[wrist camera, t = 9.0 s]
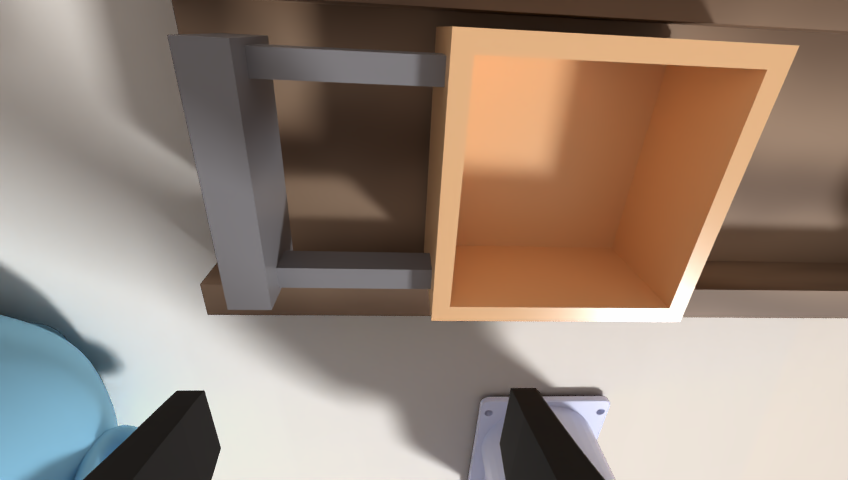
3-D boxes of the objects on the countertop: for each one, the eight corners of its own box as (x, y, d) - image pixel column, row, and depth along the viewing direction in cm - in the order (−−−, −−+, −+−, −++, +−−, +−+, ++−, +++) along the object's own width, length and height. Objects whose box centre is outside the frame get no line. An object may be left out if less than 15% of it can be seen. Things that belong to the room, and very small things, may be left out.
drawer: (614, 253, 19) (681, 323, 14) (273, 247, 18) (230, 321, 13) (680, 39, 15) (802, 46, 10) (239, 15, 14) (161, 10, 9)
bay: (879, 279, 22) (1059, 375, 16) (236, 271, 20) (163, 379, 14) (1067, 4, 16) (1470, -10, 10) (171, -56, 14) (-9, -120, 8)
